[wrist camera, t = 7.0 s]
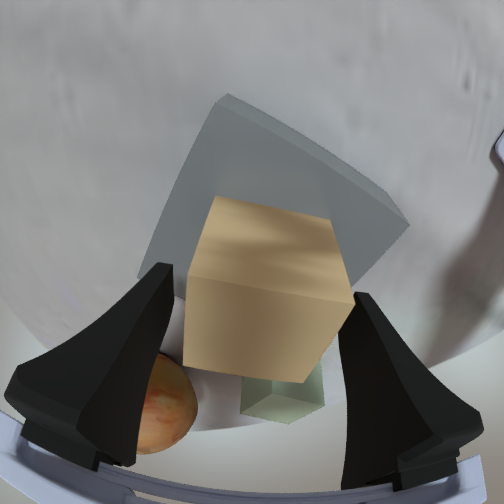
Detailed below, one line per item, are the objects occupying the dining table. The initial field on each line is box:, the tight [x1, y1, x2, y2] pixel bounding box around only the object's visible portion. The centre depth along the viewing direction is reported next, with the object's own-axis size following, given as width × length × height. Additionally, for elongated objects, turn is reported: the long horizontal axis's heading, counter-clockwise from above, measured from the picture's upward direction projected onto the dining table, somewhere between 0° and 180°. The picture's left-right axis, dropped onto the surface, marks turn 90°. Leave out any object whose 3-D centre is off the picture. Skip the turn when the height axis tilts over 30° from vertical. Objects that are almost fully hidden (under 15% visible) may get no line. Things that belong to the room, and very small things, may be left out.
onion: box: [136, 353, 198, 454], centre depth 23 cm, size 10×10×10 cm
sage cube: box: [240, 359, 325, 424], centre depth 23 cm, size 5×5×5 cm
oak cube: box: [183, 196, 355, 383], centre depth 12 cm, size 5×5×5 cm
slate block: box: [137, 94, 410, 300], centre depth 15 cm, size 10×10×4 cm
